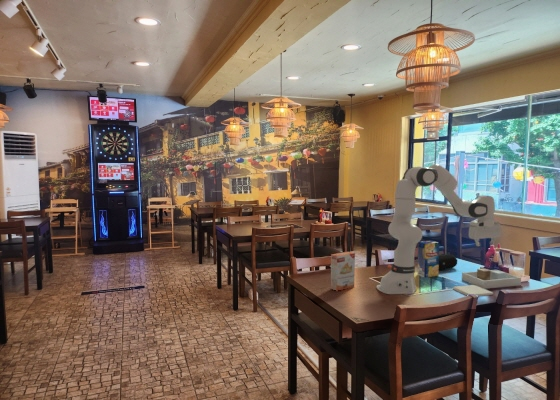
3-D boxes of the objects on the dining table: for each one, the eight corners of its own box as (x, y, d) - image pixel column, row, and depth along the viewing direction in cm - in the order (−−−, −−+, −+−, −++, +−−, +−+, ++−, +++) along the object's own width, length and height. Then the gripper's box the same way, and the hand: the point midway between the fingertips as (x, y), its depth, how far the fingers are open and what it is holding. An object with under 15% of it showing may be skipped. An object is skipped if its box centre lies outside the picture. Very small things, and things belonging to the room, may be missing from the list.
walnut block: (483, 284, 212) (483, 271, 212) (476, 282, 217) (477, 268, 217) (490, 283, 214) (490, 270, 213) (483, 281, 218) (484, 268, 218)
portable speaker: (428, 273, 238) (429, 258, 237) (418, 269, 247) (418, 255, 247) (458, 269, 247) (458, 255, 246) (446, 266, 256) (447, 252, 256)
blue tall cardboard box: (438, 275, 233) (439, 242, 231) (424, 277, 229) (425, 243, 228) (431, 272, 239) (431, 240, 237) (417, 274, 236) (418, 241, 234)
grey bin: (483, 289, 205) (483, 281, 205) (461, 280, 222) (462, 272, 222) (520, 286, 211) (521, 277, 210) (496, 277, 228) (496, 269, 227)
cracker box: (337, 292, 204) (337, 256, 202) (330, 289, 209) (330, 254, 207) (355, 287, 211) (355, 252, 209) (348, 285, 216) (348, 251, 214)
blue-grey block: (497, 283, 215) (497, 273, 214) (490, 280, 219) (491, 271, 219) (504, 282, 216) (504, 272, 215) (497, 280, 221) (498, 270, 220)
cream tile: (471, 297, 193) (471, 294, 193) (453, 289, 206) (453, 286, 206) (493, 295, 196) (493, 292, 196) (474, 287, 209) (474, 284, 209)
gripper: (496, 221, 218) (495, 243, 219) (467, 222, 213) (466, 245, 214) (504, 222, 212) (503, 245, 213) (475, 224, 207) (474, 247, 208)
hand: (484, 245), depth 214 cm, fingers open, 8 cm apart
